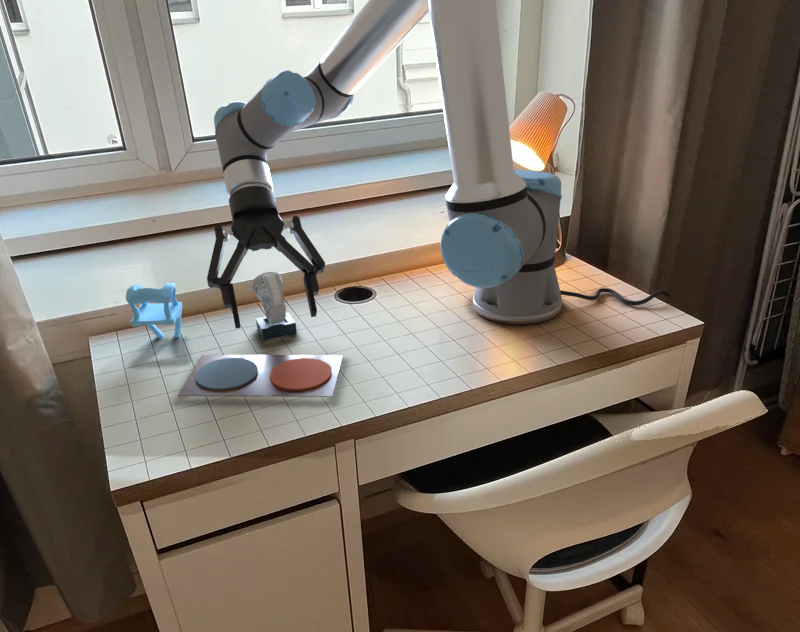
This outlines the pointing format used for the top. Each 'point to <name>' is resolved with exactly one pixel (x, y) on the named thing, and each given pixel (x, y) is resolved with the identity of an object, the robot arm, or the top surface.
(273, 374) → the terracotta pad
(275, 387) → the desk board
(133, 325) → the chair
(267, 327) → the watch
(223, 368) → the slate pad
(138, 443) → the top surface
